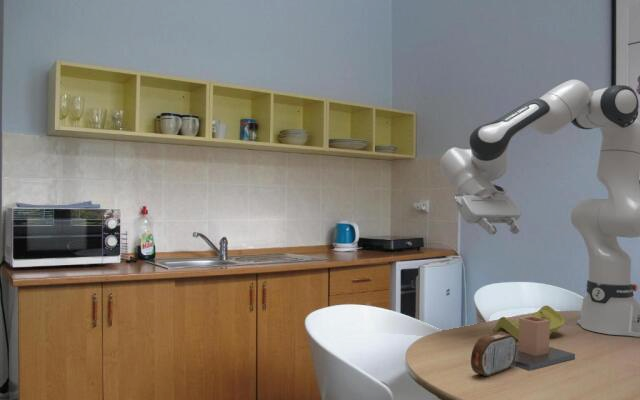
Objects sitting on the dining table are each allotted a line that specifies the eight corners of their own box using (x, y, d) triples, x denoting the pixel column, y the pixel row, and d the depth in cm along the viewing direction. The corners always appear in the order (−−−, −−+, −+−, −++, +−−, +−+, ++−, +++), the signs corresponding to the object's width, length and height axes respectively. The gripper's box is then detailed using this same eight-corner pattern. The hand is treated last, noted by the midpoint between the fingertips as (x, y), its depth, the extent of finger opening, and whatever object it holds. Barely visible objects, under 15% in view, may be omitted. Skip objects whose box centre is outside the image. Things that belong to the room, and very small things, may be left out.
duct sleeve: (530, 348, 137) (531, 316, 137) (548, 353, 133) (549, 320, 133) (518, 350, 134) (519, 318, 134) (536, 356, 130) (537, 322, 130)
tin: (505, 364, 127) (507, 328, 127) (518, 367, 125) (519, 330, 125) (468, 377, 117) (470, 338, 117) (481, 381, 115) (483, 341, 115)
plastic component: (526, 336, 145) (498, 313, 152) (516, 357, 148) (489, 333, 155) (571, 322, 155) (543, 301, 163) (561, 343, 158) (534, 321, 166)
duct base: (531, 346, 143) (532, 326, 143) (574, 358, 133) (575, 337, 133) (485, 356, 133) (486, 334, 133) (529, 370, 123) (529, 347, 123)
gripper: (457, 185, 144) (486, 225, 137) (507, 188, 156) (536, 224, 148) (444, 202, 148) (471, 241, 140) (493, 203, 160) (521, 239, 152)
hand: (505, 232), depth 144 cm, fingers open, 8 cm apart
